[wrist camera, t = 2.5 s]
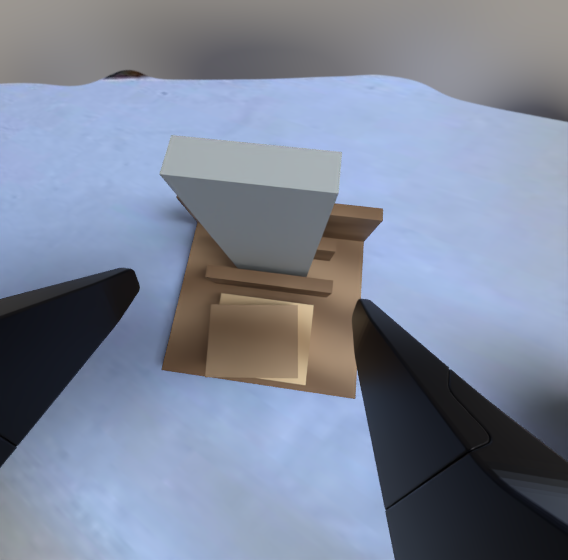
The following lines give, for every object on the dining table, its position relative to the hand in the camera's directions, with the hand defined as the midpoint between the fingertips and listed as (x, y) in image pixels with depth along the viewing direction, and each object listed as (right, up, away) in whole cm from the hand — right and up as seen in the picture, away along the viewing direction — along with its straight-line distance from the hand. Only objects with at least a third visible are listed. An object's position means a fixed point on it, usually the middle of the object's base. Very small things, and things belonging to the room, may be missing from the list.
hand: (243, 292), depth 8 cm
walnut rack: (0, -1, +11) cm, 11 cm away
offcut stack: (0, -4, +9) cm, 11 cm away
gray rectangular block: (+1, +2, +11) cm, 11 cm away
